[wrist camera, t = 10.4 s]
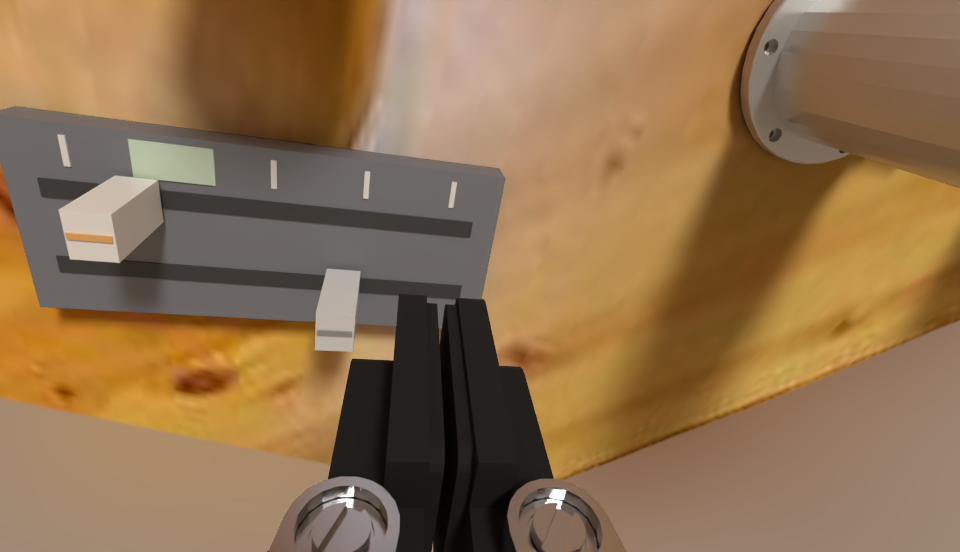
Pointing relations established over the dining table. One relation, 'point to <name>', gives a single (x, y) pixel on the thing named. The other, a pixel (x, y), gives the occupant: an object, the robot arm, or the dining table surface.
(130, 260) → the console
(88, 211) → the fader
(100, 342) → the dining table surface
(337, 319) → the fader
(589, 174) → the dining table surface
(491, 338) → the robot arm
